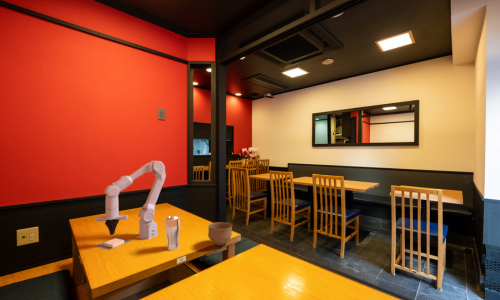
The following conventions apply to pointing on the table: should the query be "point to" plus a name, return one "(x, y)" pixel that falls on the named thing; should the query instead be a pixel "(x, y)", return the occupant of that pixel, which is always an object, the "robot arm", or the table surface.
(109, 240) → the mat
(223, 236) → the bowl
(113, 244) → the block
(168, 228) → the beer glass
